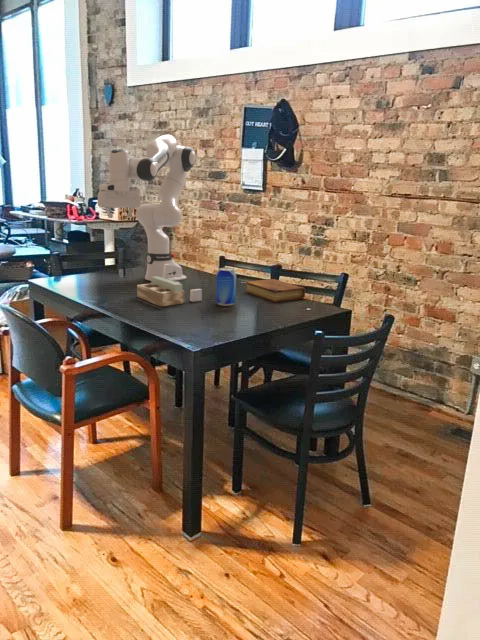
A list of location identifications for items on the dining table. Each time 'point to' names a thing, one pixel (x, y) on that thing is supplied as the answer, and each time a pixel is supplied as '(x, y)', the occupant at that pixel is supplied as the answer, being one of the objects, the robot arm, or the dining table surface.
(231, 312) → the dining table surface
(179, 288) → the grey bridge block
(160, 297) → the wooden compartment box
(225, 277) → the beer can
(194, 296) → the stand
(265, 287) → the diary
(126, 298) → the dining table surface
